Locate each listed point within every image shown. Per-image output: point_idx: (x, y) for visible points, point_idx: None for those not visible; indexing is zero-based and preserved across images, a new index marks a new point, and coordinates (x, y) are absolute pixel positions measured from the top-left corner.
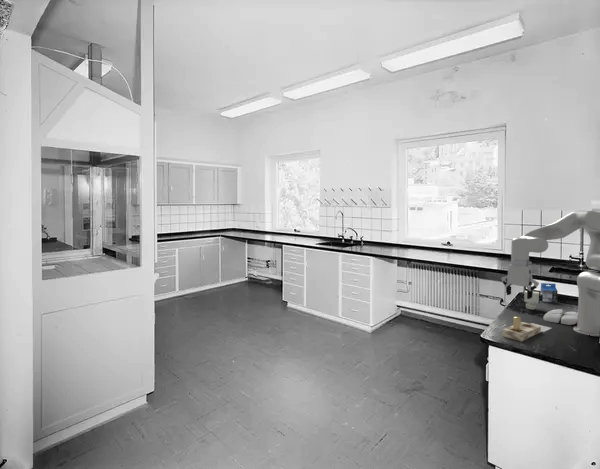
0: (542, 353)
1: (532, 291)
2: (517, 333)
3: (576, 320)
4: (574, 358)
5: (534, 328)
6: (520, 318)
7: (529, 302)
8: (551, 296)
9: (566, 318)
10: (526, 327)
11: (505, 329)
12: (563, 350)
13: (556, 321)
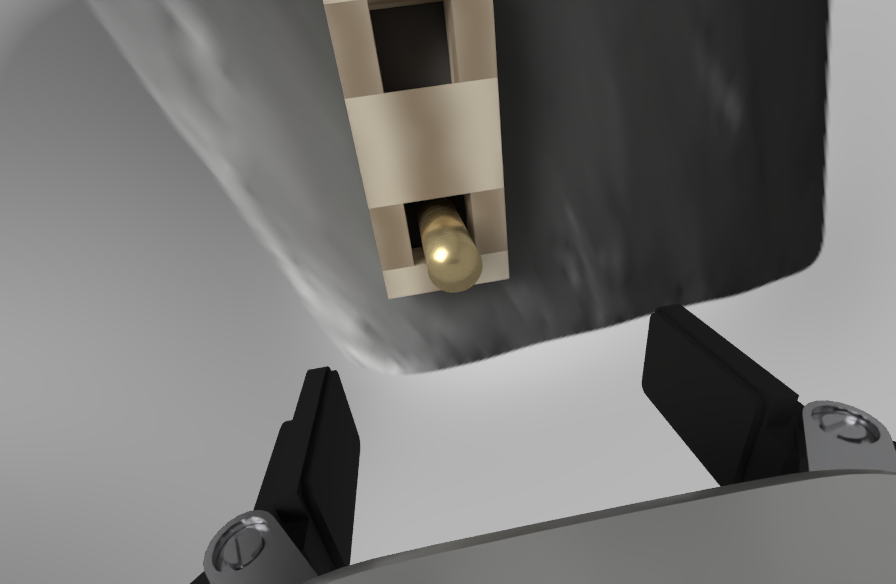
0: (632, 310)
1: (800, 408)
2: (483, 282)
3: None
4: (749, 238)
5: (488, 61)
6: (481, 259)
7: None
8: None
9: None
10: (440, 100)
11: (398, 286)
12: (692, 180)
13: None
